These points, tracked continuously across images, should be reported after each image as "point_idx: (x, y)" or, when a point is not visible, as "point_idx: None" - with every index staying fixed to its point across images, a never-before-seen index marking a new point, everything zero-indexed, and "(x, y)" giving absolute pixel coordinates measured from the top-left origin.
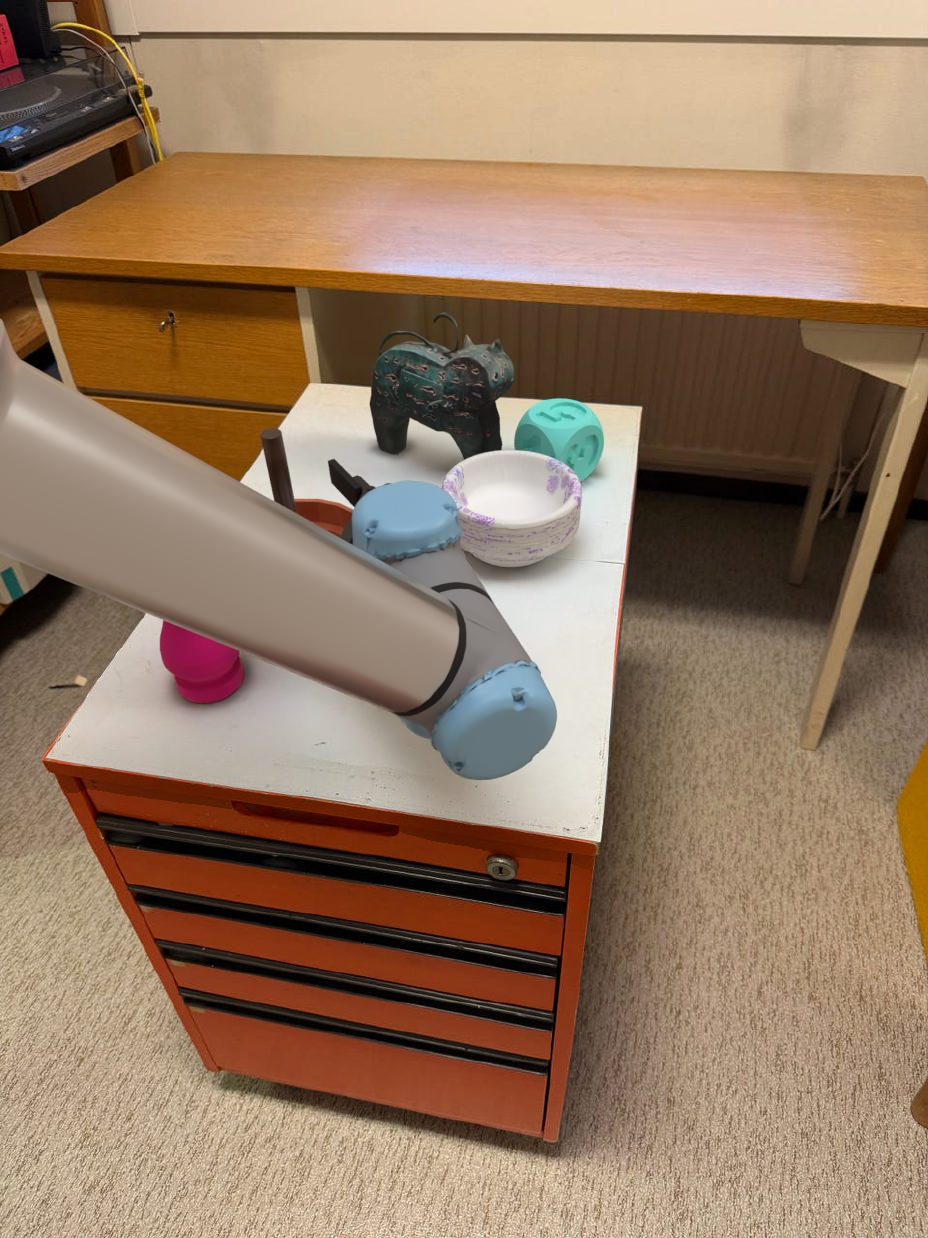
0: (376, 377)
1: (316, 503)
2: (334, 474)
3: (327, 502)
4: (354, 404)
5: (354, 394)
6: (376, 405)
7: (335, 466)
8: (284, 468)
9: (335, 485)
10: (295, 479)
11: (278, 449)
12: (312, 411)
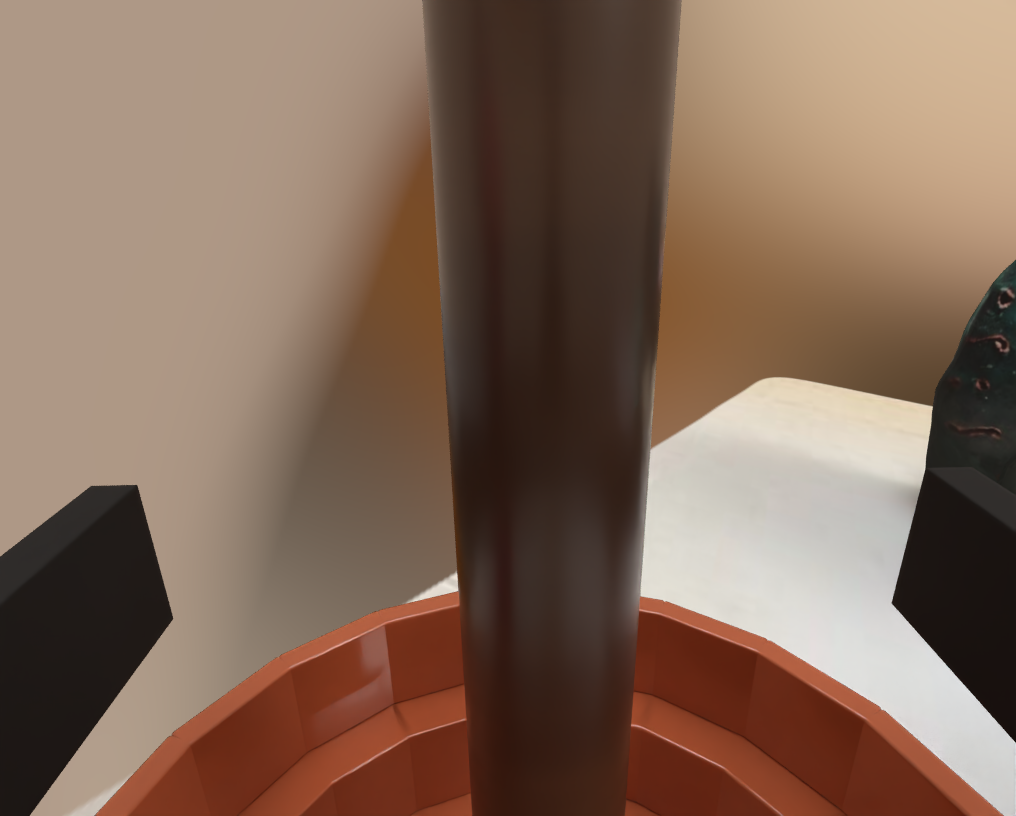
0: (1002, 305)
1: (751, 659)
2: (969, 568)
3: (812, 679)
4: (842, 411)
5: (841, 397)
6: (969, 388)
7: (1008, 517)
8: (601, 358)
9: (937, 636)
10: (681, 522)
11: (577, 39)
12: (751, 405)
